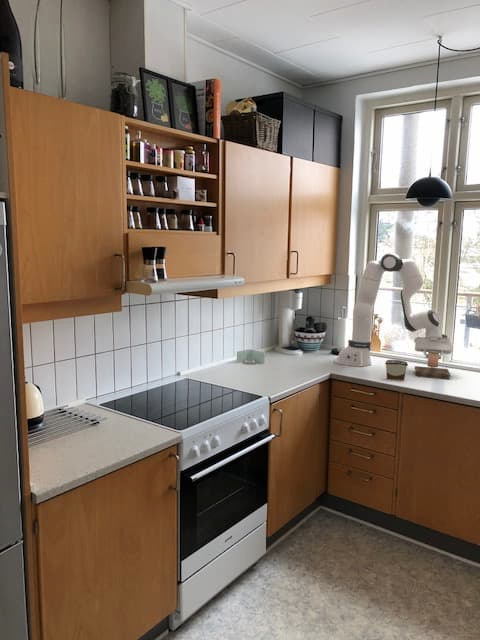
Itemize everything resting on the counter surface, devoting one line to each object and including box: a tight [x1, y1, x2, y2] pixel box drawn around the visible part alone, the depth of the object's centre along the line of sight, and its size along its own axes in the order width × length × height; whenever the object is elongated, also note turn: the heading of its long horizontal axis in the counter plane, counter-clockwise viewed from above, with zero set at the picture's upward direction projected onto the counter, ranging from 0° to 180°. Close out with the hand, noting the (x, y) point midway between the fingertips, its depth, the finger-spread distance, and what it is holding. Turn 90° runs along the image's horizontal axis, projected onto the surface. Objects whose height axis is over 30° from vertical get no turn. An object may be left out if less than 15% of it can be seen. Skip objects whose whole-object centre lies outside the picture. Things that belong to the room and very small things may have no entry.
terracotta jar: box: [426, 350, 440, 368], centre depth 292 cm, size 6×6×9 cm
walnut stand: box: [414, 365, 451, 380], centre depth 293 cm, size 18×13×3 cm
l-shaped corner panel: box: [236, 348, 266, 365], centre depth 307 cm, size 12×12×8 cm
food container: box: [384, 359, 409, 381], centre depth 282 cm, size 12×6×10 cm, turn 84°
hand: (433, 357), depth 292 cm, fingers closed on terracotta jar, 6 cm apart
